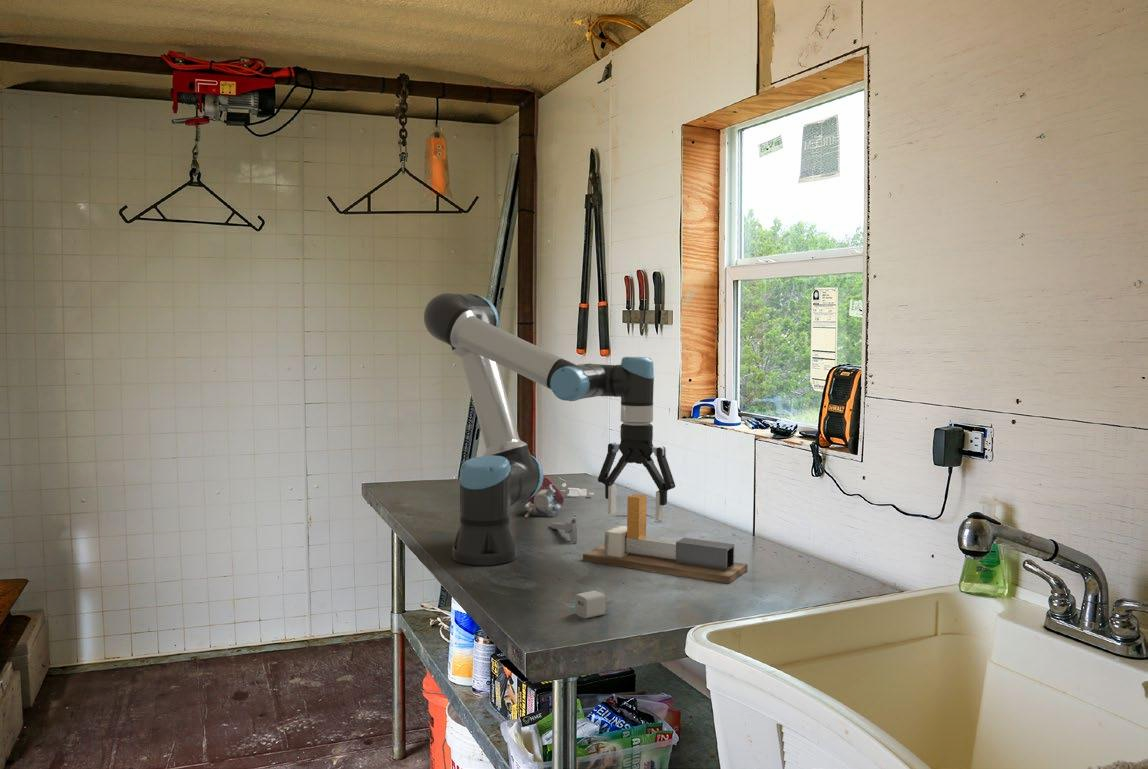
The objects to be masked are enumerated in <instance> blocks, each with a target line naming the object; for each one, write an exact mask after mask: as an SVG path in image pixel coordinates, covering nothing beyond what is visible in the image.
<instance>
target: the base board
mask: <svg viewBox="0 0 1148 769" xmlns="http://www.w3.org/2000/svg"><path fill="white" fill-rule="evenodd" d="M582 561H583V562H591V563H596V564H603V565H609V566H614V567H615V566H617V567H621V568H627V569H634V570H635V569H636V570H642V571H648V572H653V571H654V572H655V573H659V572H660V573H661V574H666V573H667V575H672V574H673V575H672V576H678V575H679V577H685V578H686V577H687V578H693V579H698V580H705V581H710V582H711V581H712V582H717V583H724V584H731V583H732V582H733V581H735V580H736V579H738V578H739V577H740V576H742V575H743V574H745V573H746V572H748V571H749V570H748V567H749V566H748V563H742V562H736V561H734V567H732V568H731V569H729V570H728V571H719V570H713V569H706V568H699V567H693V566H686V565H680V564H676V559H670V558H663V557H656V556H649V555H643V554H636V553H629V554H627V555H625V556H623V557H616V556H610V555H605V543H604V544H602V545H600V546H598V547H596V548H593V549H592V550H591V549H590V550H588V551H587V552H585V553H583V554H582ZM660 573H659V574H660Z"/></svg>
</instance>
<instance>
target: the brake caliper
mask: <svg viewBox="0 0 1148 769" xmlns="http://www.w3.org/2000/svg"><path fill="white" fill-rule="evenodd" d="M558 489H559V488H558V487H557V486H556V484H554V483H553V482H552V480H551V479H550V477H548V476H543V482H542V485H541V487H540V489H539V491H538V492H537V493H536V494H535V495H534V496H533V497H531V498H530V499H528V500H527V501H526V502H527V503H526V504H525V505H524V506H523V507H524V509H525V510H526V511H528V512H527V513H526V514H524V518H525V517H526V518H528V517H529V516H531V515H532V517H534V516H535V517H538V516H539V517H557V515H558V514H559V512H560V511H561V510H562V508H563V506H564V502H565V496H564V495H563V493H562V491H559V490H558ZM553 496H554V497H553Z"/></svg>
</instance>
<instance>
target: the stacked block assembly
mask: <svg viewBox="0 0 1148 769" xmlns="http://www.w3.org/2000/svg"><path fill="white" fill-rule="evenodd" d="M647 498H648V497H647V494H641V493H640V494H639V493H634V494H630V495H627V513H626V515H627V516H626V517H627V518H626V523H627V524H626V526H627V535H626V536H625V552H629V553H636V554H643V555H649V556H656V557H663V558H670V559H676V542H677V541H678V540H674V539H665V538H660V537H659V538H657V537H653V536H652V537H651V536H647V503H648V502H647Z"/></svg>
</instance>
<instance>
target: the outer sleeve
mask: <svg viewBox="0 0 1148 769" xmlns="http://www.w3.org/2000/svg"><path fill="white" fill-rule="evenodd" d="M676 541H677V542H676V564H680V565H686V566H693V567H699V568H706V569H713V570H719V571H728V570H729V569H731V568H732V567H734V562H735V544H734V543H727V542H720V541H713V540H705V539H698V538H688V537H683V538H681V539H679V540H676Z"/></svg>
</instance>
